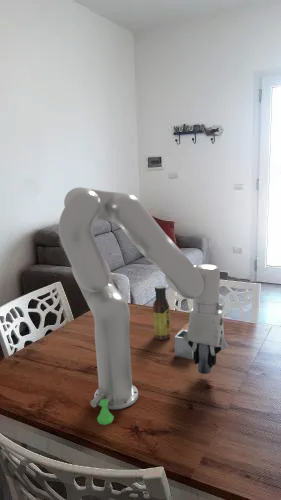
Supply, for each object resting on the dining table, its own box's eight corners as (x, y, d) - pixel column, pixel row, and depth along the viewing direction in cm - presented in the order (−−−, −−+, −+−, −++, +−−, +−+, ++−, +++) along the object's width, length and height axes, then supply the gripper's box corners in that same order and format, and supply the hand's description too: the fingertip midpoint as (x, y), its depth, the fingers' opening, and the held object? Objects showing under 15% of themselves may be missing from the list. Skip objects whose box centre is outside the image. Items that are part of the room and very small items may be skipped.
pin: (208, 375, 120) (209, 343, 118) (195, 371, 122) (196, 340, 120) (212, 369, 124) (213, 338, 122) (200, 366, 125) (201, 336, 124)
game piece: (117, 418, 106) (115, 398, 105) (105, 427, 103) (103, 405, 102) (105, 412, 109) (104, 392, 108) (93, 420, 106) (92, 400, 104)
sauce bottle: (171, 340, 151) (169, 289, 147) (154, 340, 151) (152, 290, 147) (170, 333, 157) (168, 284, 153) (154, 333, 158) (152, 284, 153)
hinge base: (192, 359, 135) (191, 339, 134) (167, 354, 140) (166, 335, 139) (210, 338, 151) (210, 320, 149) (187, 334, 155) (187, 317, 154)
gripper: (237, 307, 118) (235, 365, 122) (184, 298, 126) (184, 353, 130) (229, 315, 112) (227, 376, 115) (174, 305, 120) (174, 363, 123)
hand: (204, 363), depth 122 cm, fingers closed on pin, 4 cm apart
